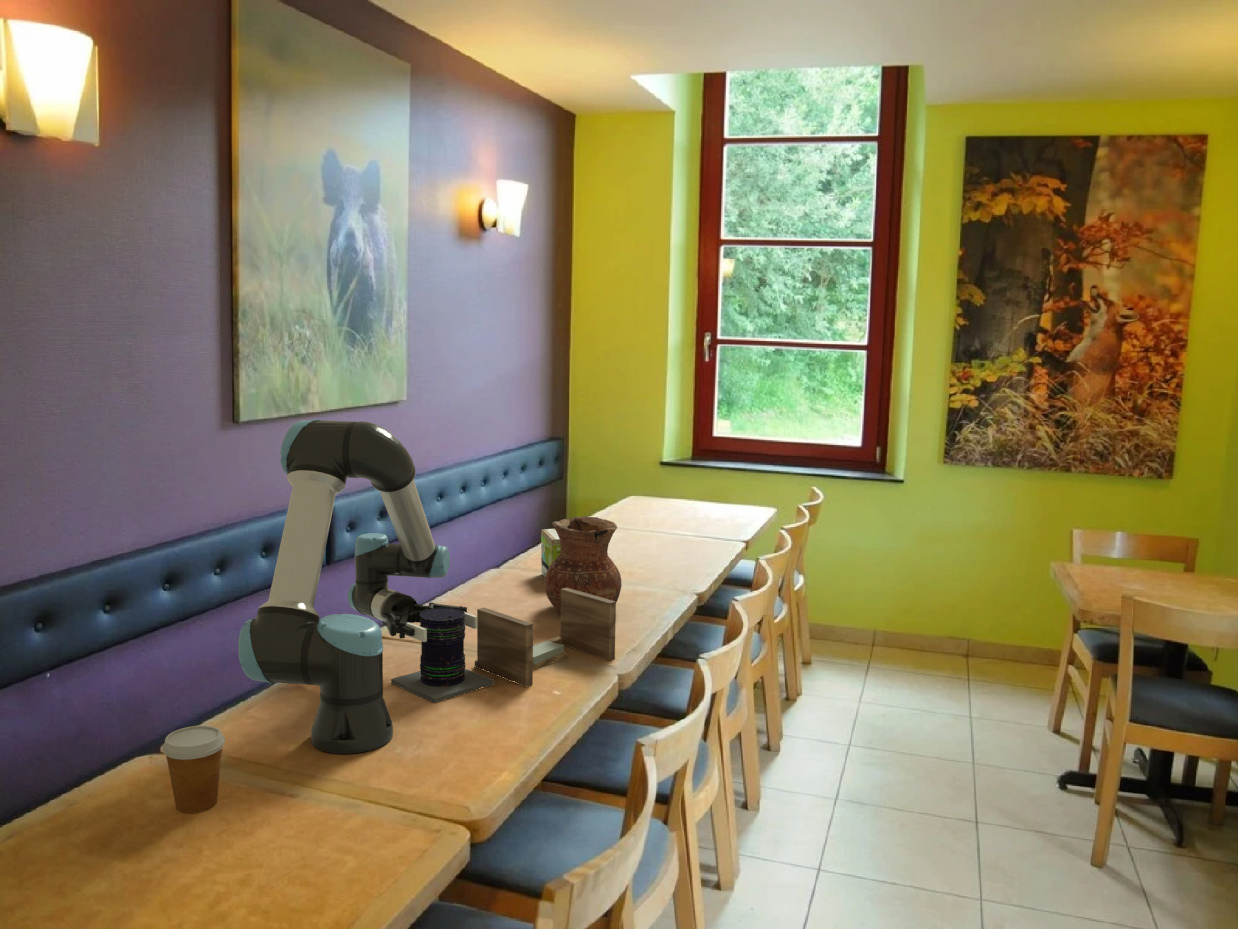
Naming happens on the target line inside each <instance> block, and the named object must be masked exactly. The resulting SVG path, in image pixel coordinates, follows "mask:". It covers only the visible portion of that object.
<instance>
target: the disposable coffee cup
mask: <svg viewBox="0 0 1238 929" xmlns="http://www.w3.org/2000/svg"><path fill="white" fill-rule="evenodd" d="M225 742H226V737H225V736H224V734H223V733H222V730H221V729H220V728H218V727H216V726H213V725H212V726H211V725H193V726H191V725H190V726H186V727H183V728H179V729H177V730H174V731H172V732H170V733H169V734H168V735H166V737H165V738H164V743H163V744H162V746H161V748H162V751H163V753H164V755H165V757H166V763H167V768H168V772H169V773H168V774H169V777H170V778H169V779H170V783H171V788H172V793H173V798H174V804H175V809H176V811H177V812H179V813H182V814H199V813H202V812H207V811H208V810H210V809H213V808H214V807H215V806H216V805H217V803H218V795H219V794H218V793H219V783H220V776H221V775H220V774H221V772H220V771H221V762H222V753H223V747H224V745H225Z"/></svg>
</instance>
